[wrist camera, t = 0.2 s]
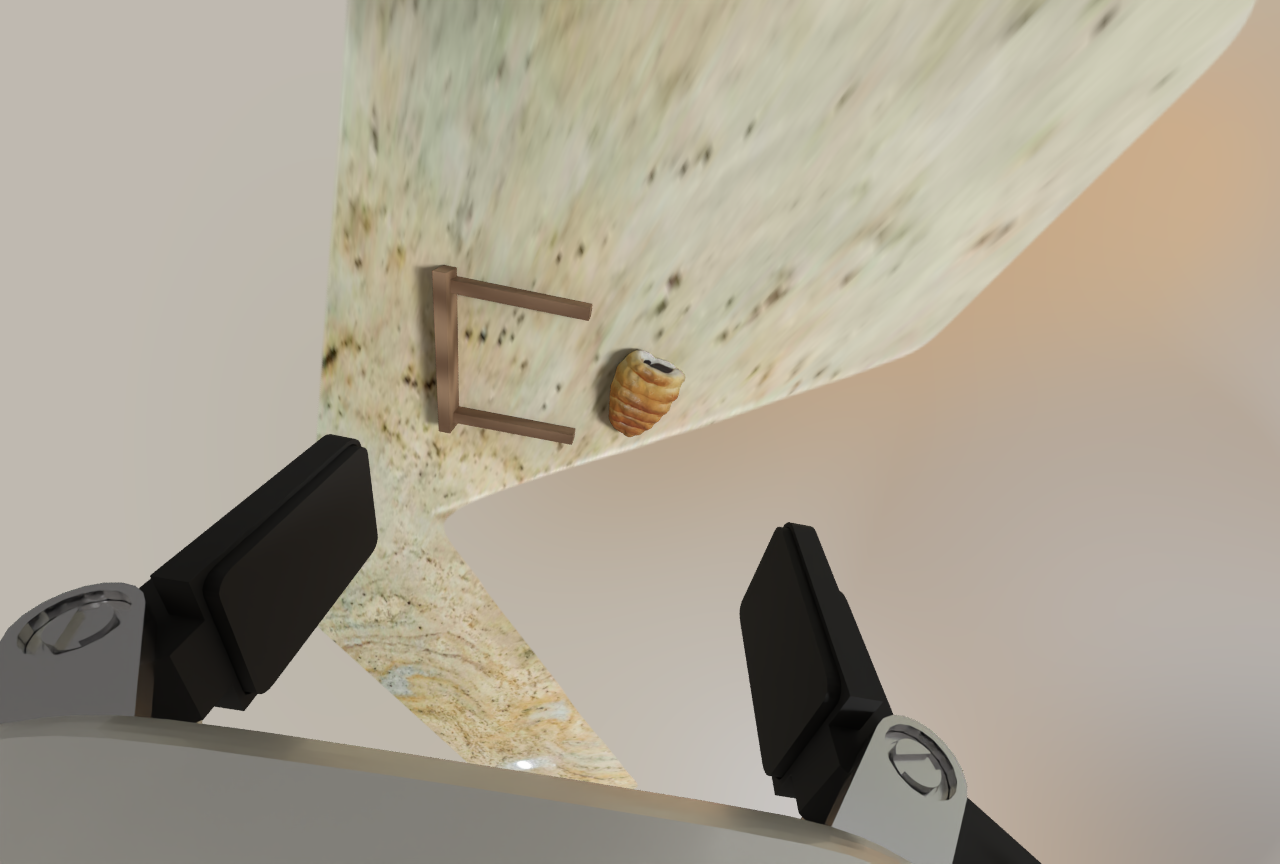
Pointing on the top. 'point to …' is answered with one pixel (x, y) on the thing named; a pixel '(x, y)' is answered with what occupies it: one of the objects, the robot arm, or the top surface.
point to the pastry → (642, 392)
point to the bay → (447, 351)
